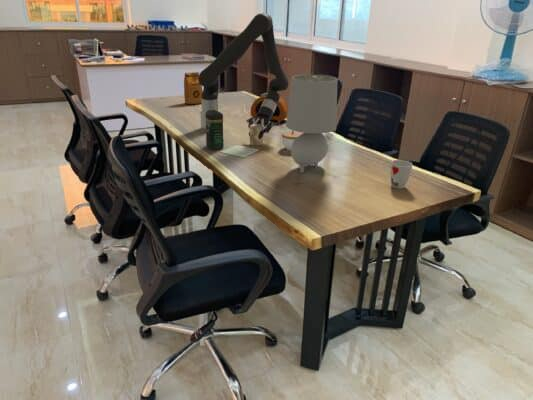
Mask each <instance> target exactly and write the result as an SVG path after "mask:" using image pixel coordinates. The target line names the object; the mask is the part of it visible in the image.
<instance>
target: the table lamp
mask: <svg viewBox="0 0 533 400" xmlns="http://www.w3.org/2000/svg"><path fill="white" fill-rule="evenodd" d="M290 82H291V83H290V90H289V98H288V104H287V105H288V113H287V118H286V123H285V127H286V128H288V129H289V130H291V131H295V132H300V133H302V134H301V135H300V136H298V137H297V138H296V139H295V140H294V142H293V144H292V147H291V151H290V154H291V157H292V159H293V161H294V162H295V164H297V165H298V166H299V172H300V174H302V173H304V172H305V167H307V166H308V167H309V166H313V167H314V168H318V164H319V163H320V162H321V161H322V160H323V159H325V158H326V156H327V154H328V150H329V143H328V139H327V138H326V136H325V135H324V134H326V133H327V134H328V133H332V132H335V131H336V130H337V118H338V117H337V113H338V111H337V106H338V77H337V78H336V77H335V76H330V75H324V74H323V75H322V74H296V75H293V76H292V77H291V81H290Z"/></svg>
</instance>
